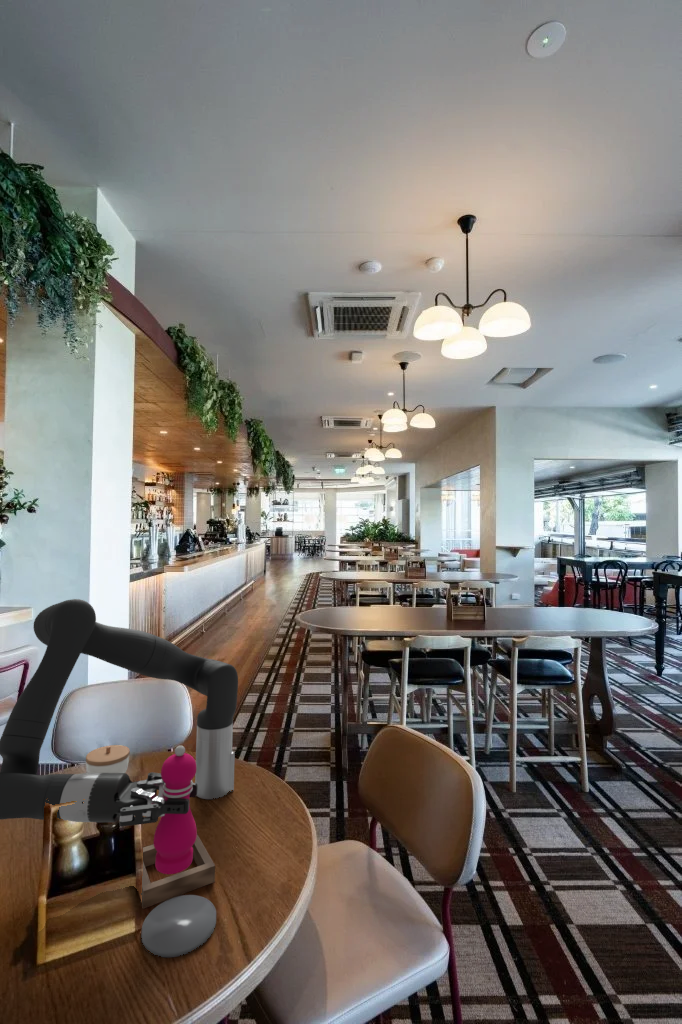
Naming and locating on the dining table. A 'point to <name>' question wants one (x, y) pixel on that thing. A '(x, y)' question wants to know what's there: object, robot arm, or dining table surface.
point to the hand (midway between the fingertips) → (192, 797)
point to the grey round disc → (178, 925)
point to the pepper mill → (176, 816)
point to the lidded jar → (108, 759)
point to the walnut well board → (176, 876)
